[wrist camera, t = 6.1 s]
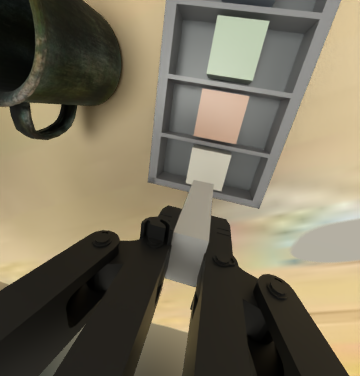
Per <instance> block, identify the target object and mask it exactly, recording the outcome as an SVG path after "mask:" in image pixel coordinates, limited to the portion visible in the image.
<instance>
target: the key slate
mask: <svg viewBox="0 0 360 376" xmlns="http://www.w3.org/2000/svg"><path fill="white" fill-rule="evenodd" d="M222 2H224V3H234V4H243V5H253V6H262V7H272V6H273V4H274V2H275V0H222Z"/></svg>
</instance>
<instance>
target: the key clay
mask: <svg viewBox="0 0 360 376" xmlns="http://www.w3.org/2000/svg"><path fill="white" fill-rule="evenodd" d="M249 97H250V96H245V95H239V94H233V93H227V92H221V91H215V90H209V89H203V88H202V93H201V98H200V104H199V109H198V114H197V120H196V125H195V130H194V135H193V136H197V137H202V138H207V139H212V140H217V141H222V142H227V143H232V144H236V142H237V139H238V135H239V132H240V128H241V125H242V121H243V118H244V114H245V111H246V107H247V104H248V100H249Z"/></svg>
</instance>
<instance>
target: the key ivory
mask: <svg viewBox="0 0 360 376" xmlns="http://www.w3.org/2000/svg"><path fill="white" fill-rule="evenodd" d="M231 156H232V155H231V152H230V151H226V150H221V149H216V148H211V147H206V146H202V145H197V144H195V145H194V146H193V147H192V152H191V157H190V162H189V168H188V173H187V178H186V183H187V184H191V185H192V183H193V180H197V181H201V182H206V183H210V184H214V187H213V190H217V191H222V187H223V184H224V180H225V177H226V173H227V170H228V166H229V163H230V159H231Z"/></svg>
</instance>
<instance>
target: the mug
mask: <svg viewBox="0 0 360 376" xmlns="http://www.w3.org/2000/svg"><path fill="white" fill-rule="evenodd" d="M120 72H121V56H120V50H119V45H118V42H117V39H116V37H115V34H114V32H113V30H112V29H111V27H110V26H109V24H108V23H107V21H106V20H105V19H104V18H103V17H102V16H101V15H100V14H99V13H97V12H96V11H95V10H94V9H93V8H91V7H90V6H89V5H88V4H86V3H85V2H84V1H83V0H0V107H10V113H11V117H12V119H13V122H14V125H15V127H16V129H17V130H18V131H20V132H21V133H22V134H24V135H25V136H27V137H30V138H33V139H42V140H49V139H52V138H55V137H58V136H60V135H61V134H63V133H64V132H66V131H67V130H68V129H69V128H70V127H71V126H72V123H73V121H74V119H75V115H76V110H77V105H83V106H95V105H99V104H101V103H103V102H105V101H106V100H107V99H109V97H110V96H111V95H112V94H113V92H114V91H115V89H116V87H117V84H118V82H119V78H120ZM28 102H30V103H48V104H62V105H61V110H60V114H59V116H58V118H57V120H56V121H55V122H54V123H53V124H51V125H50V126H48V127H46V128H44V129H41V130H38V131H36V130H35V128H34V125H33V121H32V118H31V110H30V103H28Z"/></svg>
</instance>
